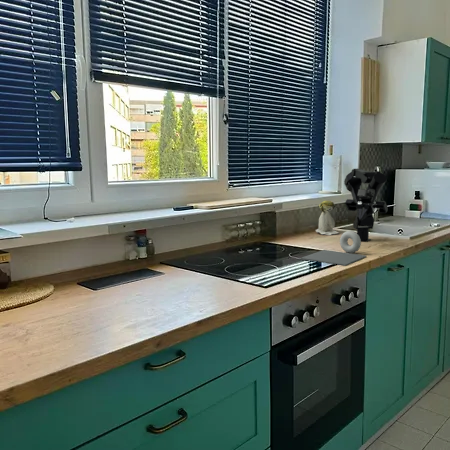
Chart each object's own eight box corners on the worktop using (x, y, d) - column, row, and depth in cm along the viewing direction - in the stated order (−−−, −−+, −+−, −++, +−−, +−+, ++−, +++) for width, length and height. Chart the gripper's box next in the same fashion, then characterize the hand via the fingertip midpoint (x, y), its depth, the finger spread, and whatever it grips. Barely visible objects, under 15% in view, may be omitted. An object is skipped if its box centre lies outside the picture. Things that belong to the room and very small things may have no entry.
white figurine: (319, 235, 241) (320, 202, 238) (312, 231, 254) (313, 199, 251) (341, 235, 242) (341, 201, 239) (333, 231, 255) (334, 199, 252)
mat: (324, 250, 203) (324, 249, 203) (366, 256, 190) (366, 255, 190) (301, 258, 188) (301, 257, 188) (345, 265, 175) (345, 264, 175)
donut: (362, 254, 196) (362, 231, 194) (357, 255, 194) (358, 232, 192) (342, 250, 203) (342, 229, 202) (337, 251, 201) (338, 230, 199)
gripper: (347, 182, 211) (335, 207, 204) (386, 183, 199) (375, 210, 192) (354, 197, 218) (343, 222, 211) (392, 199, 206) (381, 226, 199)
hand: (360, 220), depth 203 cm, fingers closed
